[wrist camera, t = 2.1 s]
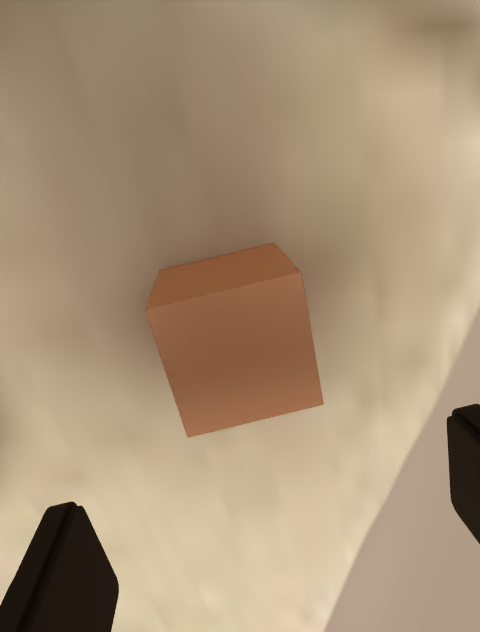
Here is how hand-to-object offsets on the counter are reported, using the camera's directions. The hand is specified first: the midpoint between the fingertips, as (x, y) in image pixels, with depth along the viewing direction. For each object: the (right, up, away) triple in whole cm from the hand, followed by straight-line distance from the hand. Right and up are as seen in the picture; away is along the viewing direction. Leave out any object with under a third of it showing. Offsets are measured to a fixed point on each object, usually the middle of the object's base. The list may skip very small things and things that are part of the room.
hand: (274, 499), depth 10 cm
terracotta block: (-1, +5, +12) cm, 13 cm away
